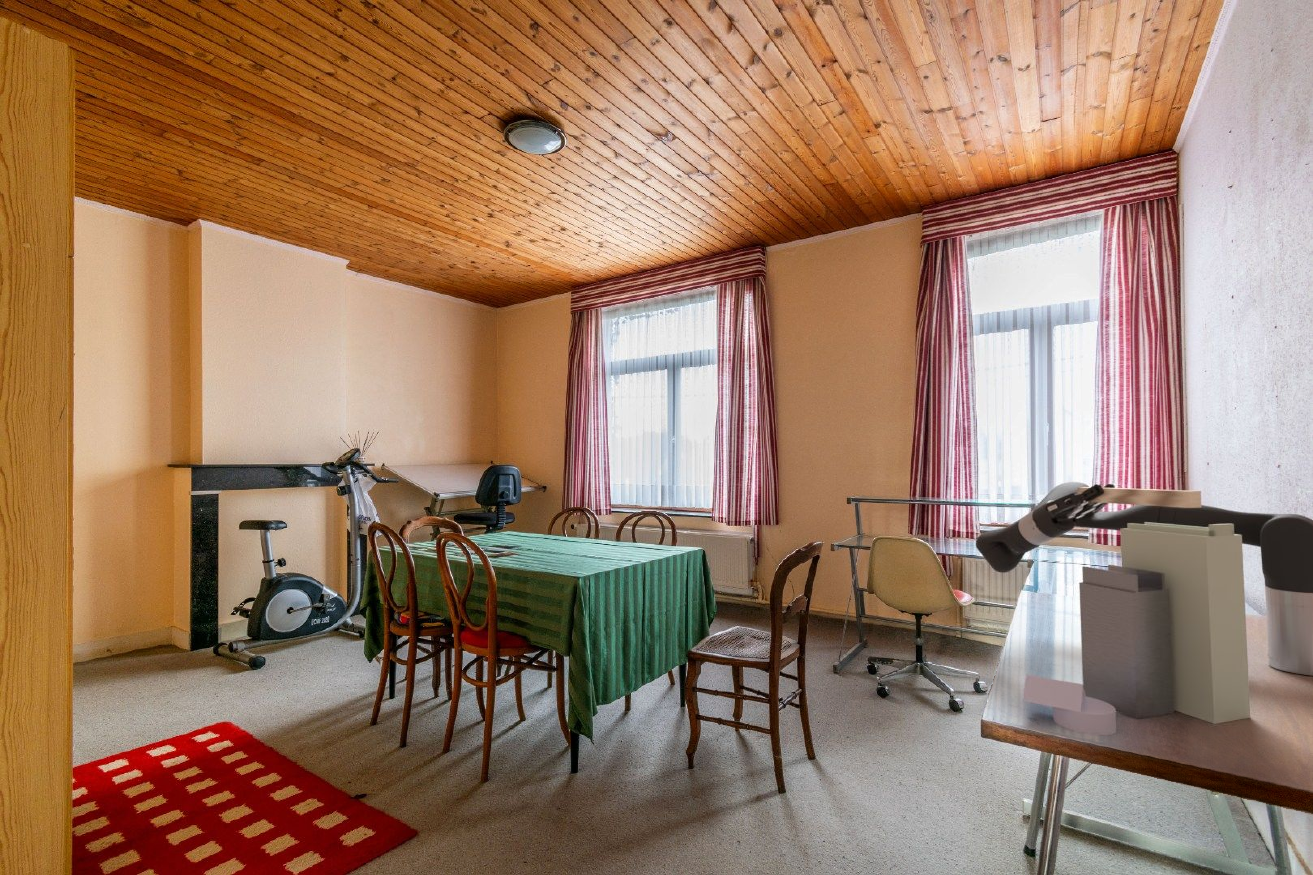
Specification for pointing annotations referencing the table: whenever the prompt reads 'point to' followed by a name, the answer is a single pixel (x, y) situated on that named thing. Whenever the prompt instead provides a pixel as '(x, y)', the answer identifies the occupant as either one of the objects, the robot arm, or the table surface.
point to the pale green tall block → (1200, 612)
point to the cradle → (1127, 640)
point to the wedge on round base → (1071, 705)
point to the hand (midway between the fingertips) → (1107, 488)
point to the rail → (1149, 497)
